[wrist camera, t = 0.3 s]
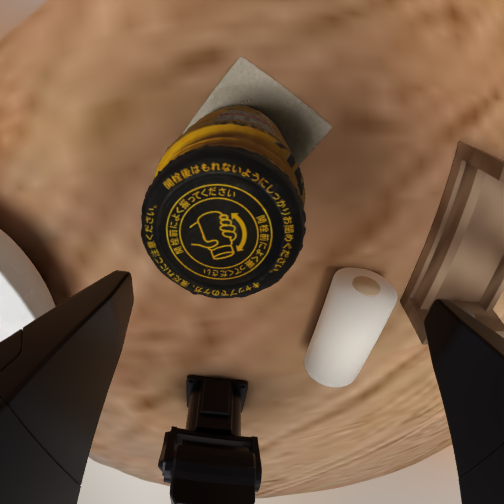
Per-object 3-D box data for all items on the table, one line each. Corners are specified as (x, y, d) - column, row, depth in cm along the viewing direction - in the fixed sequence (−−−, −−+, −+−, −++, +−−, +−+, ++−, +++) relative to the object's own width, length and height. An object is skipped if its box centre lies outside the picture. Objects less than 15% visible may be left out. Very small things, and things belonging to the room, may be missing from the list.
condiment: (164, 160, 20) (83, 254, 10) (241, 56, 17) (228, 22, 6) (251, 219, 22) (253, 350, 12) (331, 126, 19) (421, 188, 9)
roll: (350, 346, 29) (362, 388, 25) (300, 344, 29) (307, 388, 25) (384, 268, 25) (408, 308, 20) (327, 261, 24) (343, 305, 20)
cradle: (477, 305, 27) (502, 339, 23) (399, 301, 26) (422, 344, 22) (534, 176, 20) (572, 201, 15) (459, 141, 19) (504, 163, 14)
